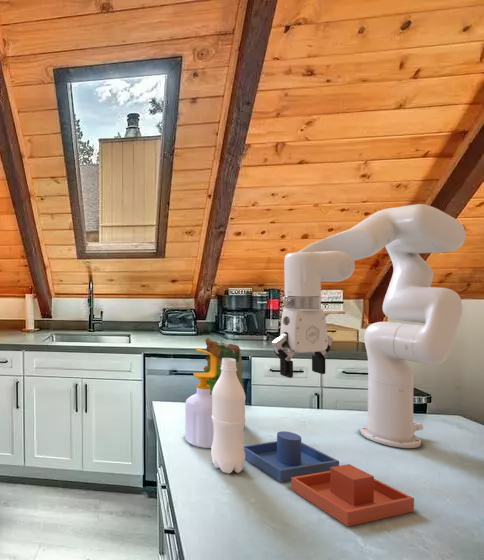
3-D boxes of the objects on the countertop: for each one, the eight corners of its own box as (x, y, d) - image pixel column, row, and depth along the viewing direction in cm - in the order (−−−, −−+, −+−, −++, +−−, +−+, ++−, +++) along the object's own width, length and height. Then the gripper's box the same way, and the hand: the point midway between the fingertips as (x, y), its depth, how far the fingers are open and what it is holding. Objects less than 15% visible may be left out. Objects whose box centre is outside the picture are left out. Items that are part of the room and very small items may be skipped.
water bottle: (248, 477, 84) (249, 363, 83) (213, 474, 85) (214, 361, 85) (241, 462, 91) (242, 356, 90) (209, 459, 92) (210, 355, 92)
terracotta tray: (351, 478, 84) (351, 466, 84) (414, 511, 72) (414, 498, 72) (291, 489, 79) (291, 477, 79) (347, 526, 68) (347, 512, 68)
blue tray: (294, 448, 98) (294, 438, 98) (339, 471, 86) (339, 460, 86) (240, 456, 94) (241, 446, 94) (280, 482, 82) (280, 470, 82)
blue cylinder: (288, 454, 94) (288, 430, 94) (306, 464, 89) (306, 438, 89) (271, 457, 92) (272, 432, 92) (289, 467, 87) (289, 441, 87)
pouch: (244, 434, 107) (244, 344, 107) (199, 426, 112) (200, 341, 112) (245, 420, 117) (245, 338, 117) (204, 414, 122) (204, 335, 122)
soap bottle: (181, 433, 107) (182, 345, 107) (214, 434, 107) (215, 346, 106) (190, 448, 98) (191, 352, 98) (226, 449, 98) (227, 352, 97)
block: (348, 488, 79) (349, 463, 79) (373, 501, 74) (374, 476, 74) (329, 491, 78) (330, 467, 78) (354, 506, 73) (354, 479, 73)
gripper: (285, 306, 86) (286, 382, 87) (344, 303, 91) (345, 375, 91) (260, 303, 93) (261, 373, 94) (316, 301, 98) (317, 367, 99)
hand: (302, 374), depth 93 cm, fingers open, 9 cm apart
